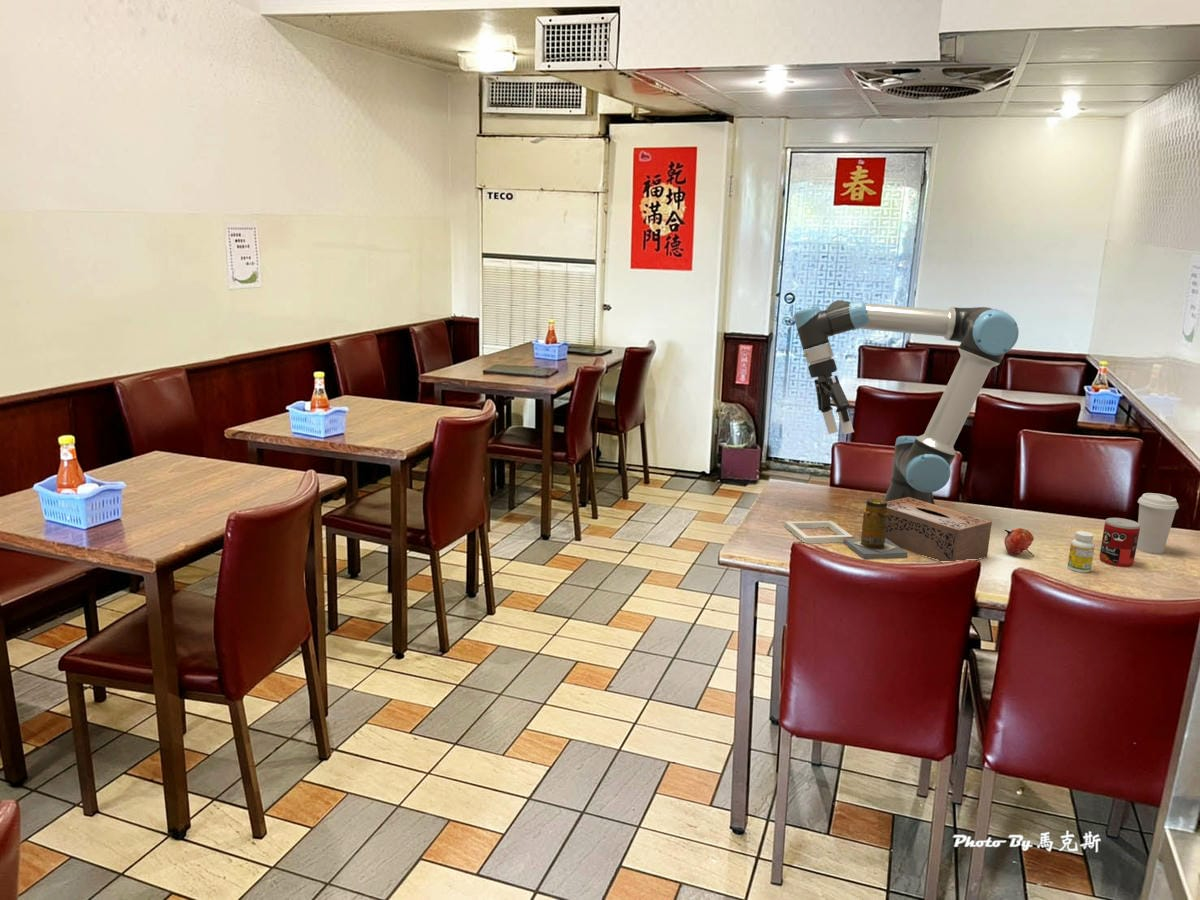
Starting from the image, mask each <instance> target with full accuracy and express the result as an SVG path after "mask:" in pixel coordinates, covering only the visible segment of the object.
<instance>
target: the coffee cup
mask: <svg viewBox="0 0 1200 900" xmlns="http://www.w3.org/2000/svg"><path fill="white" fill-rule="evenodd" d="M1137 503H1138V504H1139V505H1138V519H1137V523H1139V524H1140V531H1139V537H1138V542H1137V548H1136V550H1139V551H1140V552H1141V551H1142V552H1144V553H1148V554H1156V555H1159V554H1164V551H1165V548H1166V545H1167V541H1168V539H1169V535H1170V531H1171V529H1172V524H1173V521H1174V518H1175V514H1176V511H1177V510H1178V509H1179V508H1180V507H1179V503H1178V502H1177V499H1176V497H1173V496H1171V495H1167V494H1163V493H1153V492H1146V493H1143V494H1142V495H1141V496H1140V497H1139V498H1138V500H1137Z"/></svg>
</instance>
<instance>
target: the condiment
mask: <svg viewBox="0 0 1200 900" xmlns="http://www.w3.org/2000/svg"><path fill="white" fill-rule="evenodd" d="M883 500H884V499H877V498H870V499H867V501H866V502H865V509H864V511H863V515H862V517H863V518H862V526H861V536H860V538H861V541H859V542H855V544H857V545H861V546H863V547H867V548H870V549H873V550H877V551H880V552H882V551H887V550H890V549H892V548H895V546H892V545H889V544H886V543H885V534H886V525H887V515H888V513H887V502H885V501H883Z"/></svg>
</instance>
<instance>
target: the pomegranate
mask: <svg viewBox="0 0 1200 900" xmlns="http://www.w3.org/2000/svg"><path fill="white" fill-rule="evenodd" d="M1003 532H1004V533H1005V532H1006V533H1007V534H1005V537H1004V540H1003V541H1004V547H1005V550H1006V551H1007V552H1008V553H1009V554H1010V555H1013V556H1021V555H1022V554H1023V552H1024V551H1027V552H1028V553H1029V554H1030V555H1032V556H1033V557H1035V555H1034V554H1033V553H1032V552H1031V551H1030V550H1029V548H1030V546H1031V545H1032V543H1033V541H1034V540H1035V537H1034V535H1033V534H1032V533H1031V531H1029V530H1028V529H1025V528H1021V527H1020V528H1019V527H1018V528H1015V529H1012V530H1008V529H1004V530H1003Z"/></svg>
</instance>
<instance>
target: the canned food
mask: <svg viewBox="0 0 1200 900" xmlns="http://www.w3.org/2000/svg"><path fill="white" fill-rule="evenodd" d="M1103 526H1104V527H1103V532H1102V539H1101V543H1100V550H1099V560H1100V561H1101V562H1103V563H1105V564H1107V565H1110V566H1115V567H1121V568H1124V567H1125V568H1126V567H1132V566H1133V564H1134V562H1135V558H1136V553H1137V542H1138V537H1139V531H1140V524H1139V523H1138V521H1135V520H1132V519H1127V518H1121V517H1108V518H1106V519H1105V522H1104V525H1103Z"/></svg>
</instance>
